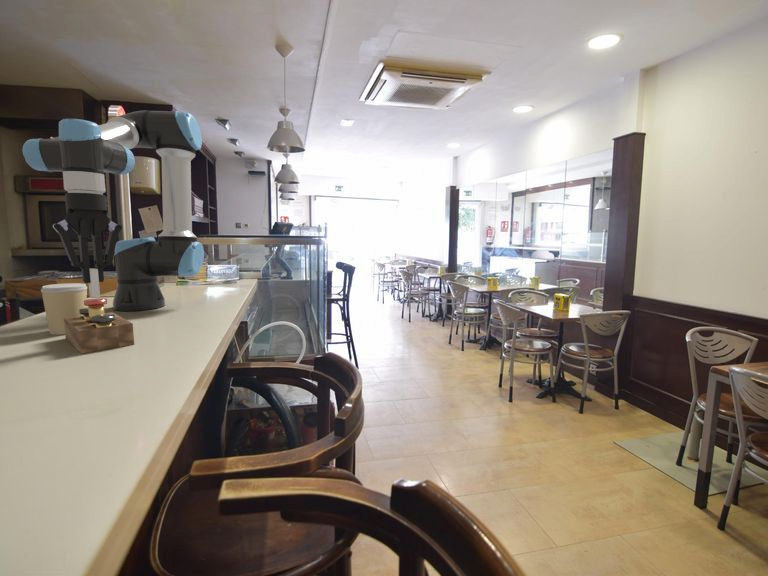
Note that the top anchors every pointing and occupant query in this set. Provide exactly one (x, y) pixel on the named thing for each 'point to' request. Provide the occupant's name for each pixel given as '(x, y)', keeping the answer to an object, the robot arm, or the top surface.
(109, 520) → the top surface
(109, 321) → the plunger
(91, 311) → the plunger red
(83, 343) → the walnut block
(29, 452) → the top surface
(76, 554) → the top surface
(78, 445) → the top surface
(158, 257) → the robot arm
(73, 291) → the coffee cup
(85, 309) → the plunger
